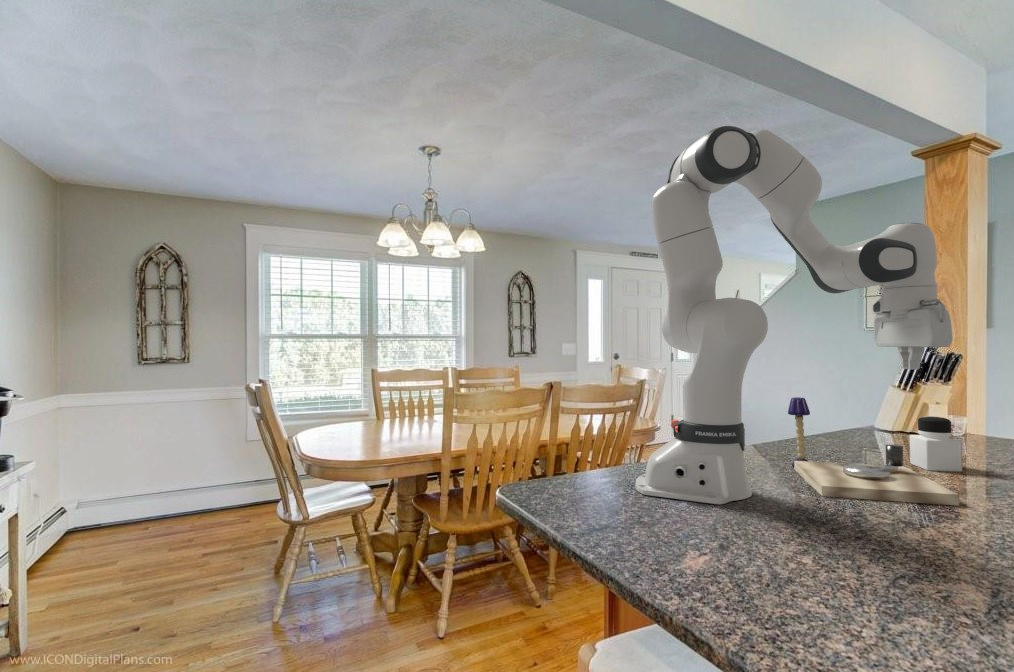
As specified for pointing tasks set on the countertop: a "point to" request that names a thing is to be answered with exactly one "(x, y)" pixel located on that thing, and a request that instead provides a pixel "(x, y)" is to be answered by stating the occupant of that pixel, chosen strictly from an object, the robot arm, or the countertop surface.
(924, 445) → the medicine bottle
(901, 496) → the birch stand
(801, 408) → the toy lamp
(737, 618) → the countertop surface
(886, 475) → the silver disc with handle
